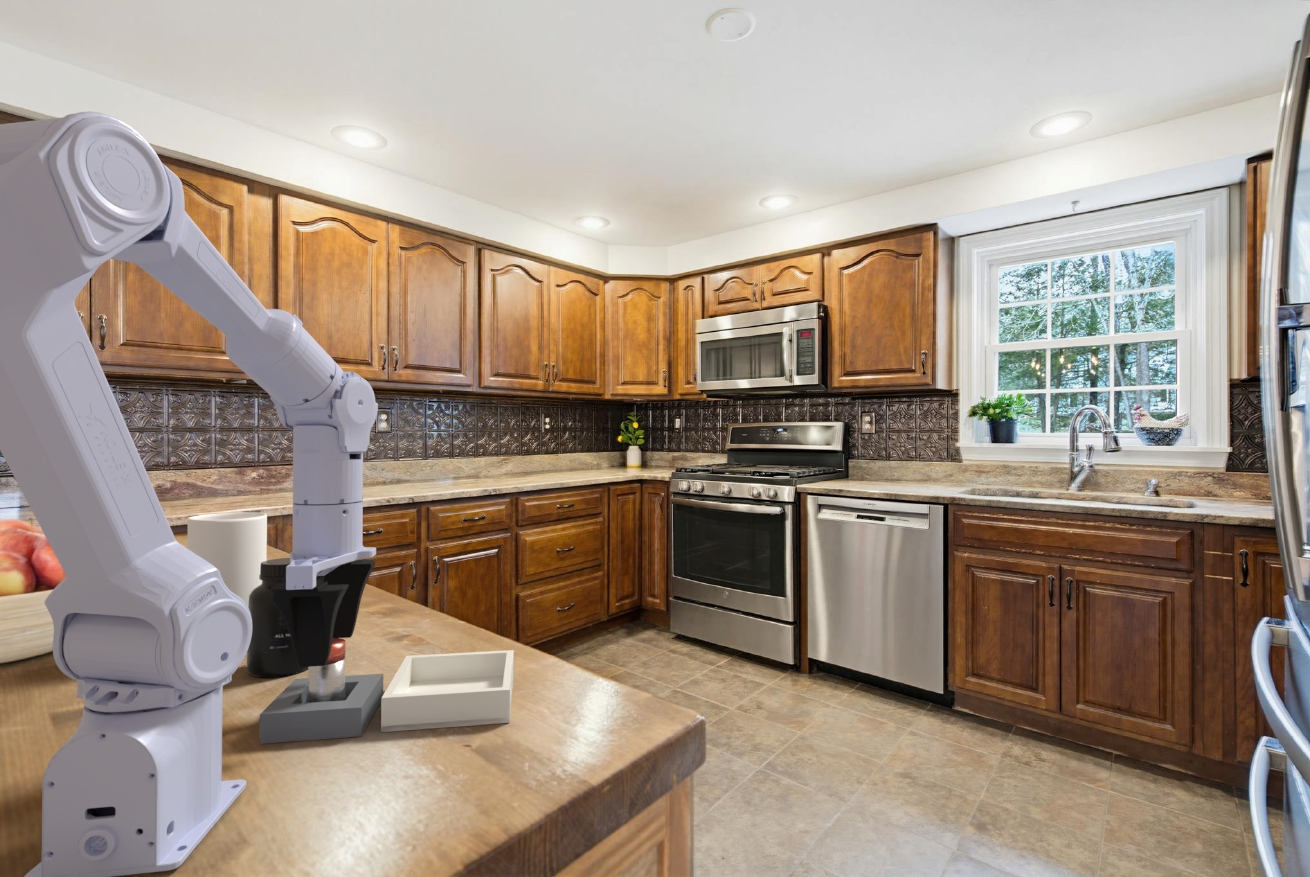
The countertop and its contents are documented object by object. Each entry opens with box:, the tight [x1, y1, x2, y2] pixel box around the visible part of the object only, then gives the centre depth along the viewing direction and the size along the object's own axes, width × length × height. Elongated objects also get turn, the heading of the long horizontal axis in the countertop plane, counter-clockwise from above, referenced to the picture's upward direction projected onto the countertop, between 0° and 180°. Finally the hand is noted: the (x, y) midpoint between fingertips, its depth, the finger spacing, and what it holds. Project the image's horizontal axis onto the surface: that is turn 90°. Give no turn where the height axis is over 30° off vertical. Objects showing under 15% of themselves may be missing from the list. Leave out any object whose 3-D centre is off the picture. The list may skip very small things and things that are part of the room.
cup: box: [186, 511, 268, 606], centre depth 79 cm, size 8×8×16 cm
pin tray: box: [380, 649, 515, 733], centre depth 62 cm, size 11×11×3 cm
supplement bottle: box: [246, 557, 308, 678], centre depth 71 cm, size 7×7×12 cm
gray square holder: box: [259, 673, 384, 745], centre depth 58 cm, size 8×8×2 cm
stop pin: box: [307, 638, 346, 703], centre depth 58 cm, size 3×3×7 cm
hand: (327, 650), depth 58 cm, fingers open, 7 cm apart
